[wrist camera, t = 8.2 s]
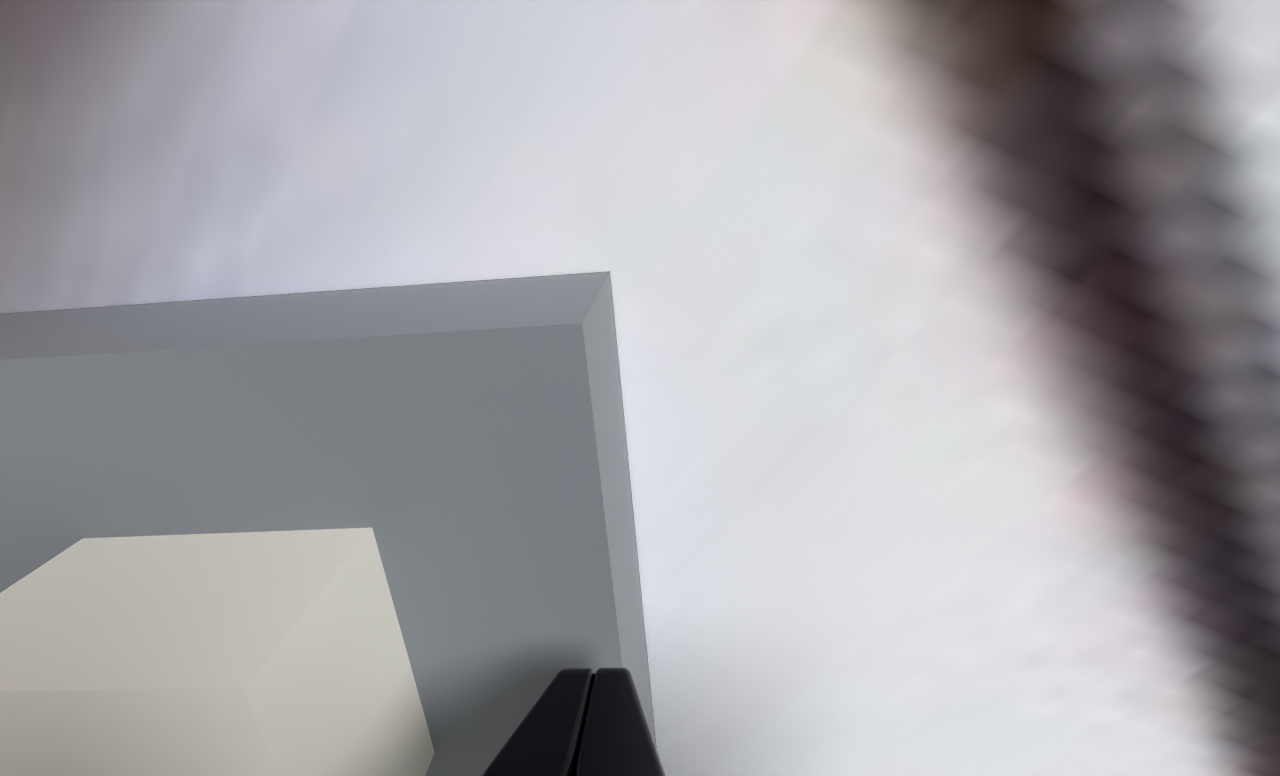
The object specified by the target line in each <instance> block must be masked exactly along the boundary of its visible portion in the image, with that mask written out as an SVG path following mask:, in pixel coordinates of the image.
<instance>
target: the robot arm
mask: <svg viewBox="0 0 1280 776" xmlns="http://www.w3.org/2000/svg"><path fill="white" fill-rule="evenodd" d="M481 776H665V775H664V772H663V769H662V766H661V762H660V759H659V756H658V753H657V750H656V747H655V744H654V741H653V738H652V735H651V732H650V729H649V726H648V723H647V720H646V717H645V714H644V711H643V708H642V705H641V702H640V699H639V696H638V693H637V689H636V686H635V683H634V680H633V677H632V674H631V672H630V670H629V669H628V668H624V667H619V668H599V669H598V670H597V671H596V673H595V671H594V670H593V669H591V668H564V669H562V670H560V671H559V672H558V673H557V675H556V676H555V677H554V679H553V680H552V681H551V683H550V684H549V685H548V687H547V688H546V689H545V691H544V692H543V693H542V695H541V696H540V697H539V699H538V700H537V701H536V703H535V704H534V705H533V707H532V708H531V709H530V711H529V712H528V713H527V715H526V716H525V717H524V719H523V720H522V722H521V723H520V724H519V726H518V727H517V728H516V730H515V731H514V732H513V734H512V735H511V736H510V738H509V739H508V740H507V742H506V743H505V744H504V746H503V747H502V748H501V750H500V751H499V752H498V754H497V755H496V756H495V758H494V759H493V760H492V762H491V763H490V764H489V766H488V767H487V768H486V770H485V771H484V773H483V774H482V775H481Z"/></svg>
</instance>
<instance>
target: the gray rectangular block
mask: <svg viewBox="0 0 1280 776" xmlns="http://www.w3.org/2000/svg"><path fill="white" fill-rule="evenodd" d="M347 528H372V529H373V532H374V536H375V539H376V543H377V547H378V550H379V554H380V557H381V561H382V565H383V568H384V572H385V575H386V579H387V583H388V586H389V590H390V593H391V597H392V601H393V604H394V608H395V611H396V615H397V618H398V622H399V626H400V629H401V633H402V636H403V640H404V644H405V647H406V651H407V654H408V658H409V662H410V665H411V669H412V672H413V676H414V680H415V683H416V687H417V690H418V694H419V698H420V701H421V705H422V708H423V712H424V716H425V719H426V723H427V726H428V730H429V734H430V737H431V741H432V744H433V748H434V752H435V753H434V755H433V758H432V760H431V763H430V765H429V768H428V770H427V773H426V775H425V776H481V775H482V774H483V773H484V771H485V770H486V768H487V767H488V766H489V764H490V763H491V762H492V760H493V759H494V758H495V756H496V755H497V754H498V752H499V751H500V750H501V748H502V747H503V746H504V744H505V743H506V742H507V740H508V739H509V738H510V736H511V735H512V734H513V732H514V731H515V730H516V728H517V727H518V726H519V724H520V723H521V722H522V720H523V719H524V717H525V716H526V715H527V713H528V712H529V711H530V709H531V708H532V707H533V705H534V704H535V703H536V701H537V700H538V699H539V697H540V696H541V695H542V693H543V692H544V691H545V689H546V688H547V687H548V685H549V684H550V683H551V681H552V680H553V679H554V677H555V676H556V675H557V673H558V672H559V671H560V670H562V669H564V668H591V669H593V670H594V671H595V673H596V671H597V670H598V669H599V668H619V667H624V668H628V669H629V670H630V672H631V674H632V677H633V680H634V683H635V686H636V689H637V693H638V696H639V699H640V702H641V705H642V708H643V711H644V714H645V717H646V720H647V723H648V726H649V729H650V732H651V735H652V738H653V741H654V744H655V747H656V740H655V730H654V720H653V709H652V699H651V689H650V679H649V668H648V658H647V648H646V638H645V627H644V617H643V607H642V596H641V586H640V576H639V566H638V555H637V545H636V535H635V524H634V514H633V504H632V494H631V483H630V473H629V463H628V452H627V442H626V432H625V422H624V411H623V401H622V391H621V381H620V370H619V360H618V350H617V339H616V329H615V319H614V309H613V298H612V288H611V278H610V272H595V273H581V274H567V275H552V276H538V277H524V278H509V279H495V280H481V281H466V282H452V283H438V284H423V285H409V286H395V287H381V288H366V289H352V290H338V291H323V292H309V293H295V294H280V295H266V296H252V297H237V298H223V299H209V300H194V301H180V302H166V303H151V304H137V305H123V306H108V307H94V308H80V309H66V310H51V311H37V312H23V313H8V314H0V593H1V592H2V591H4V590H5V589H7V588H8V587H10V586H11V585H13V584H15V583H16V582H18V581H19V580H21V579H22V578H24V577H25V576H27V575H28V574H30V573H31V572H33V571H34V570H36V569H37V568H39V567H40V566H42V565H43V564H45V563H46V562H48V561H49V560H51V559H52V558H54V557H55V556H57V555H58V554H60V553H62V552H63V551H65V550H66V549H68V548H69V547H71V546H72V545H74V544H75V543H77V542H78V541H80V540H81V539H83V538H106V537H133V536H159V535H186V534H213V533H240V532H266V531H293V530H320V529H347Z"/></svg>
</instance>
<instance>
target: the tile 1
mask: <svg viewBox="0 0 1280 776" xmlns="http://www.w3.org/2000/svg"><path fill="white" fill-rule="evenodd" d="M434 753H435V752H434V748H433V744H432V741H431V737H430V734H429V730H428V726H427V723H426V719H425V716H424V712H423V708H422V705H421V701H420V698H419V694H418V690H417V687H416V683H415V680H414V676H413V672H412V669H411V665H410V662H409V658H408V654H407V651H406V647H405V644H404V640H403V636H402V633H401V629H400V626H399V622H398V618H397V615H396V611H395V608H394V604H393V601H392V597H391V593H390V590H389V586H388V583H387V579H386V575H385V572H384V568H383V565H382V561H381V557H380V554H379V550H378V547H377V543H376V539H375V536H374V532H373V529H372V528H347V529H320V530H293V531H266V532H240V533H213V534H186V535H159V536H133V537H106V538H83V539H81V540H80V541H78V542H77V543H75V544H74V545H72V546H71V547H69V548H68V549H66V550H65V551H63V552H62V553H60V554H58V555H57V556H55V557H54V558H52V559H51V560H49V561H48V562H46V563H45V564H43V565H42V566H40V567H39V568H37V569H36V570H34V571H33V572H31V573H30V574H28V575H27V576H25V577H24V578H22V579H21V580H19V581H18V582H16V583H15V584H13V585H11V586H10V587H8V588H7V589H5V590H4V591H2V592H1V593H0V776H425V775H426V773H427V770H428V768H429V765H430V763H431V760H432V758H433V755H434Z"/></svg>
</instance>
